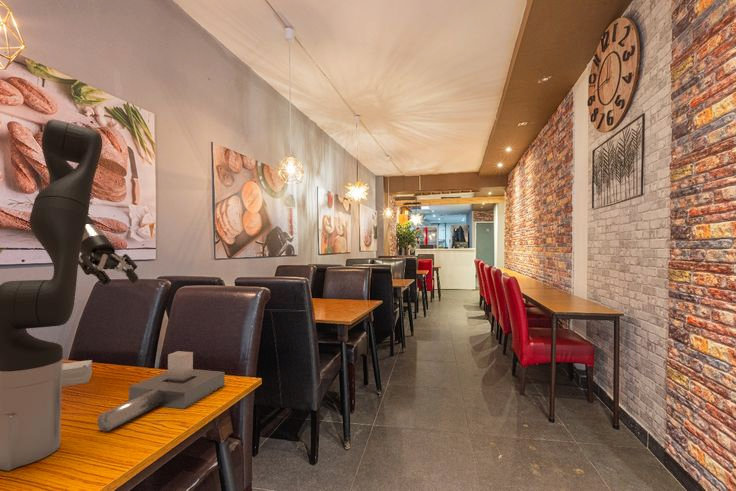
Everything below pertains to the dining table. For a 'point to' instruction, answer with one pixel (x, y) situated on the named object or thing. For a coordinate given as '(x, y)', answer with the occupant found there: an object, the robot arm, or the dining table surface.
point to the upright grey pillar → (180, 367)
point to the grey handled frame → (161, 396)
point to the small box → (76, 372)
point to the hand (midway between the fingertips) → (122, 282)
